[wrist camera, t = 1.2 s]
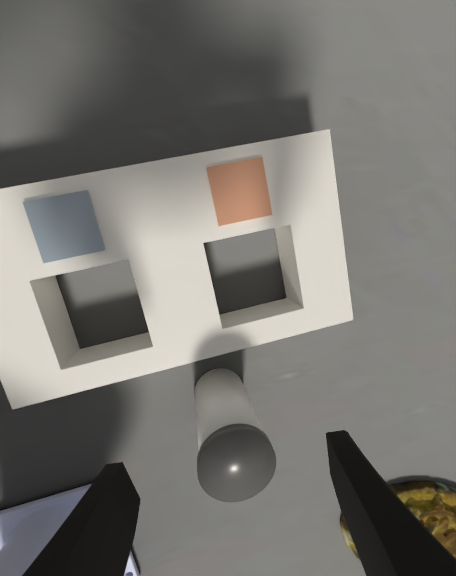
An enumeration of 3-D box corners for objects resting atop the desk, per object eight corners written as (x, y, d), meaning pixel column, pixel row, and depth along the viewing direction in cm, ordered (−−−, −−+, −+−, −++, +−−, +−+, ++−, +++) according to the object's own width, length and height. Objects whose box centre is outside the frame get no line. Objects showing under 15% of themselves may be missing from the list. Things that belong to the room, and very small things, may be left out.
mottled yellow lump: (481, 476, 28) (345, 464, 25) (543, 517, 23) (385, 508, 20) (460, 569, 28) (322, 568, 25) (516, 628, 24) (356, 635, 21)
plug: (249, 407, 21) (281, 487, 14) (198, 421, 21) (207, 512, 14) (239, 360, 20) (268, 421, 14) (186, 374, 20) (189, 445, 13)
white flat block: (329, 308, 21) (355, 320, 18) (39, 382, 19) (10, 411, 15) (306, 146, 19) (331, 127, 15) (-27, 208, 16) (-76, 201, 13)
